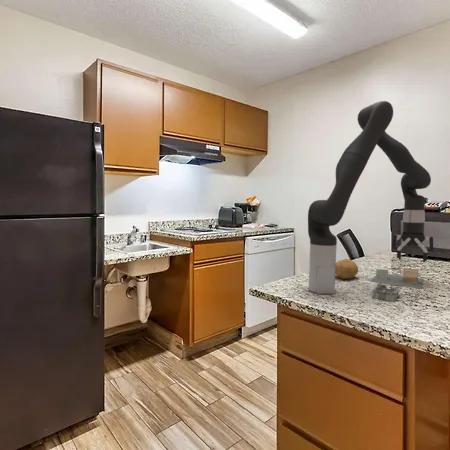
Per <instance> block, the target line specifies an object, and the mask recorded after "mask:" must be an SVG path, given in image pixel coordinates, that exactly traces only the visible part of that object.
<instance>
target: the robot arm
mask: <svg viewBox="0 0 450 450" xmlns="http://www.w3.org/2000/svg"><path fill="white" fill-rule="evenodd" d="M393 118H394V107H393V104H392V103H390V102H389V101H387V100H384V101H383V100H380V101H377V102H375V103H373V104H370V105H368V106H366V107H363V108H362V109H361V110H360V111H359V112H358V114H357V123H358V126H359V127H360V128H361V129H362V131H361V132H360V133H359V135H357V136H356V137H355V138H354V140H353V141H352V142H351V143H350V144H349V145H348V146H347V147H346V148H345V150H344V151H343V152H342V155H341V156H340V158H339V160H338V162H337V163H336V167H335V185H334V188H333V189H332V192H330V195H329V196H328V198H327V199H319V200H314V201H313V202H312V203H311V204H310V205H309V207H308V212H307V234H308V238H309V261H308V262H309V264H308V265H309V268H308V290H309V291H310V292H312V293H316V294H323V295H325V294H328V295H331V294H332V295H333V294H335V291H336V290H335V289H336V274H335V271H336V262H337V247H338V246H337V244H338V239H337V236H336V235H334V233H332V231H331V229H330V227H333V226H336V225H338V224H339V223H340V222H341V220H342V219H343V217H344V214H345V212H346V208H347V206H348V203H349V200H350V198H351V196H352V194H353V191H354V189H355V188H356V185H357V183H358V181H359V179H360V177H361V175H362V174H363V172H364V170H365V168H366V167H367V164H368V162H369V160H370V157H371V156H372V154H373V152H374V150H375V148H376V146H378V148H380V150H381V151H382V152H384V154H385V155H386V156H387V158H388V159H389V161H390V162H391V163H392V165H393V167H394V168H395V170H396V172H398V173H400V174H403V175H402V177H401V178H400V187H401V191H402V197H403V200H404V203H403V204H404V207H403V209H404V210H403V215H402V233H401V234H397V233H394V234H393V239H392V246H391V247H392V249H394V250H396V258H397V259H398V260H402V249H403V248H404V247H405V246H408V247H412V246H413V247H420V249H421V250H422V251H423V253H422V255H423V256H422V262H423V263H426V261H428V254H429V253H432V252H434V236H432V235H430V236H426V235H425V222H426V214H425V212H426V211H425V207H426V206H425V203H426V200H425V196H423V195H421V194H418V192H417V190H423V189H427V188H428V187H429V186H430V185H431V182H432V178H431V174H430V173H429V171H428V170H427V169H425V168H424V166H423V165H421V164H420V163H419V162H417V161H416V160H415V158H414V157H413V155H412V154H411V152H410V151H409V149H408V148H407V147H406V146H405V145H404V144H403V143H402V142H400V141H399V140H397V139H395V138H394V137H392V136H391V135H390V134H388V133H387V132H386V130H387V128H388V127H389V126H390V124H391V122H392V119H393ZM400 239H401V241H403V242H402V243H401V244H400V245H399V246H397V242H398V241H399V240H400ZM425 240H426V241H427V242H428V243H429V248H427V247H426V246H425V245H424V243H423V242H424V241H425Z"/></svg>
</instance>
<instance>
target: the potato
mask: <svg viewBox="0 0 450 450" xmlns="http://www.w3.org/2000/svg"><path fill="white" fill-rule="evenodd" d="M358 272H359V268H358V265H357V264H356V262H355V261H354V260H351V259H348V258H344V259H341V260H337V261H336V271H335V276H337V277H338V278H340V279H342V280H349V279H352V278H354V277H355V276H357V274H358Z"/></svg>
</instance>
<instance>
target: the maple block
mask: <svg viewBox="0 0 450 450" xmlns="http://www.w3.org/2000/svg"><path fill="white" fill-rule="evenodd" d="M402 276H403V282H406V283H413V284H417V282H418V278H419V269H416V268H408V267H407V268H406V267H404V268H403V270H402Z"/></svg>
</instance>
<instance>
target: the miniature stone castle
mask: <svg viewBox="0 0 450 450" xmlns="http://www.w3.org/2000/svg"><path fill="white" fill-rule="evenodd" d="M400 290H401V288H397V287H395V288H393V286H391V287H390V288H388V286H387V284H384V283H381V282H380V283H377V285H376V286H375V287H374V288H373V289H372V291H371V292H372V294H373V295H372V298H374V299H375V300H385V301H387V302H394V301H395V300H396V299H397V298H398V297H399V292H400Z"/></svg>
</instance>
